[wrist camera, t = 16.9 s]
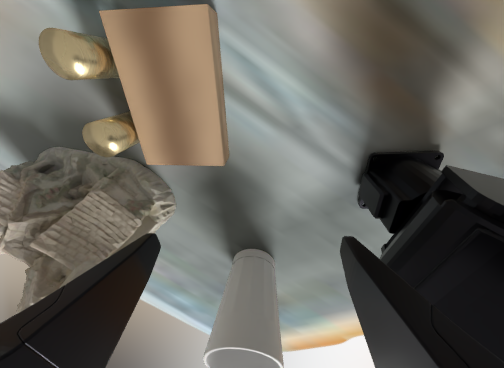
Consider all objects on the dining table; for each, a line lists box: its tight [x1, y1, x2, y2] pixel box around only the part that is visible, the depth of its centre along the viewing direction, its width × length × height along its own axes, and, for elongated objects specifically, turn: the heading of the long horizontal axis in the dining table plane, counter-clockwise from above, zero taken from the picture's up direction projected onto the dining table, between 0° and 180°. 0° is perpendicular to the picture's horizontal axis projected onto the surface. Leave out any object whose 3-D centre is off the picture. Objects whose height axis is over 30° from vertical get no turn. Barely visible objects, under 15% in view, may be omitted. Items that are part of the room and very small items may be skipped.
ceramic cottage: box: [0, 147, 176, 314], centre depth 20 cm, size 16×16×15 cm
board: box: [99, 4, 229, 166], centre depth 18 cm, size 8×12×3 cm, turn 2°
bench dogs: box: [39, 28, 140, 157], centre depth 17 cm, size 3×9×5 cm, turn 4°
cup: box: [203, 249, 284, 368], centre depth 25 cm, size 8×8×12 cm
